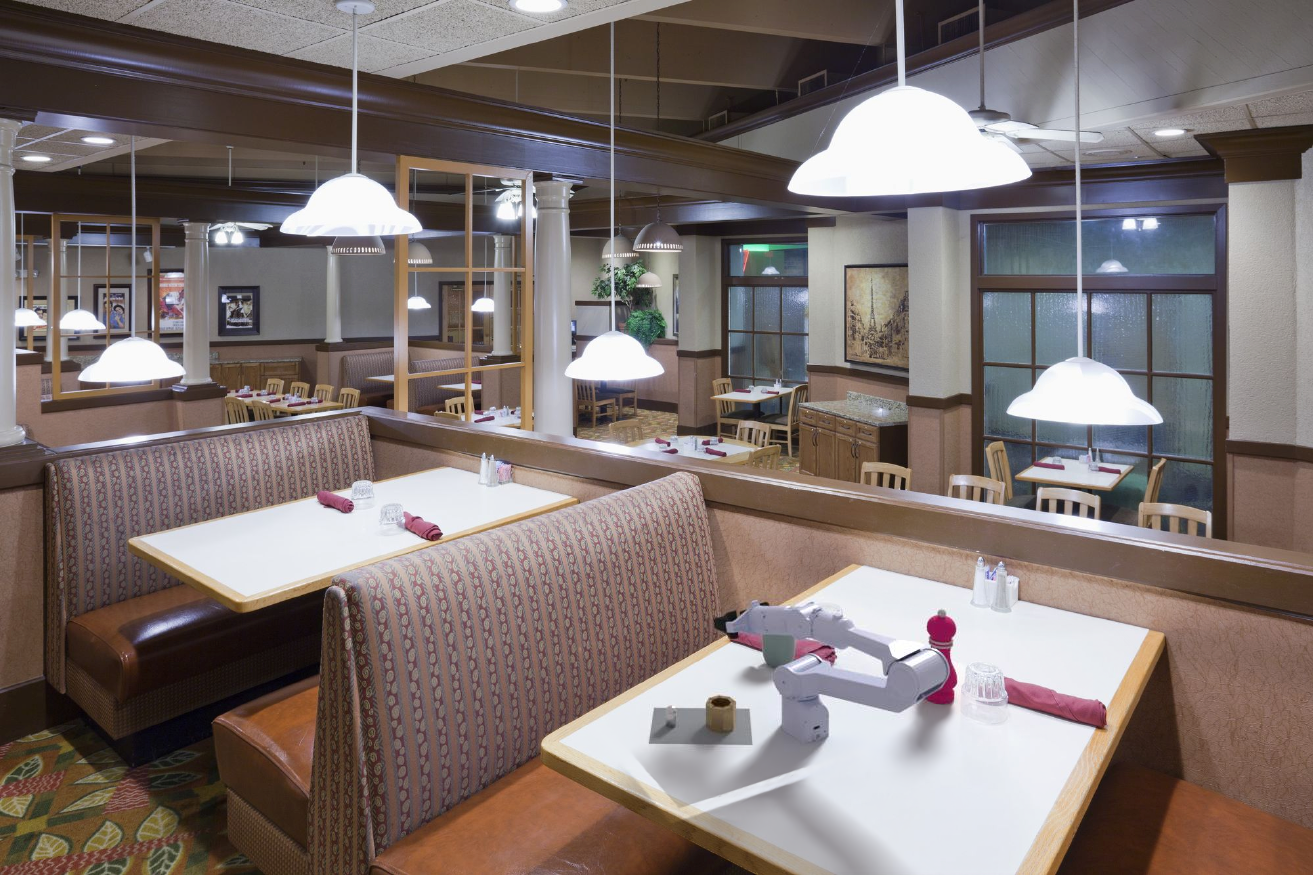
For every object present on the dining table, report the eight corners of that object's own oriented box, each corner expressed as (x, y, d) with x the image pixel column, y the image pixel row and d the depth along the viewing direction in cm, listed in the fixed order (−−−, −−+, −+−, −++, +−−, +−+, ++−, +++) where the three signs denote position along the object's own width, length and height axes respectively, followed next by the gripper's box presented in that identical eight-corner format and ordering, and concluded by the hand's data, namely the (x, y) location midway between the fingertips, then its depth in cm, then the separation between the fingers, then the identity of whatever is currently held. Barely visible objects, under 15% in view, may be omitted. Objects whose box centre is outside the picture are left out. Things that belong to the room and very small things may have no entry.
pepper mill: (959, 706, 177) (962, 616, 173) (923, 704, 178) (926, 615, 175) (954, 690, 184) (957, 603, 180) (919, 688, 185) (922, 602, 182)
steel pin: (678, 726, 169) (678, 707, 168) (669, 728, 168) (668, 709, 167) (673, 721, 171) (673, 702, 170) (664, 723, 170) (663, 705, 169)
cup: (785, 674, 193) (785, 634, 192) (756, 666, 198) (755, 626, 196) (801, 662, 199) (801, 622, 198) (772, 654, 204) (772, 615, 202)
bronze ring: (740, 728, 168) (740, 705, 167) (716, 735, 165) (715, 711, 164) (726, 715, 173) (725, 693, 172) (702, 722, 170) (701, 699, 169)
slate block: (749, 715, 176) (749, 708, 175) (752, 751, 162) (752, 744, 162) (654, 714, 177) (654, 707, 177) (649, 750, 163) (649, 743, 163)
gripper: (794, 593, 174) (749, 594, 185) (744, 607, 165) (700, 607, 176) (800, 627, 174) (754, 626, 184) (750, 643, 165) (705, 641, 175)
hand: (728, 619), depth 180 cm, fingers open, 7 cm apart
